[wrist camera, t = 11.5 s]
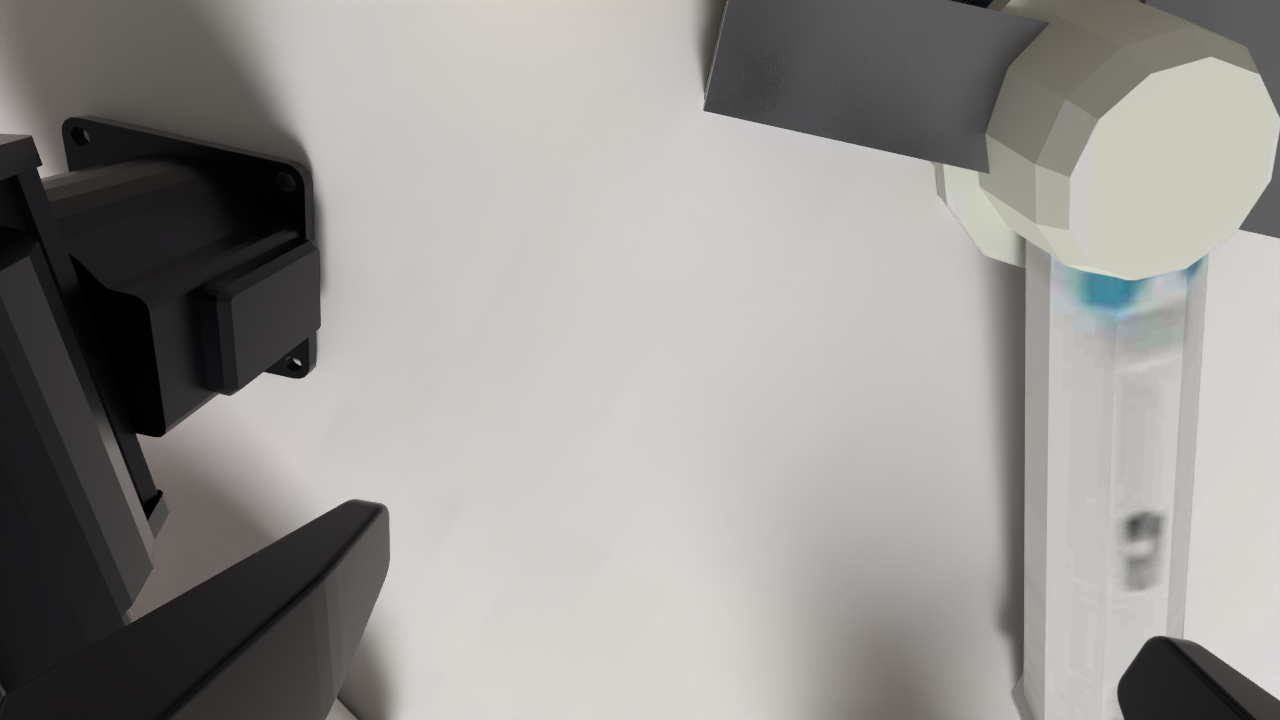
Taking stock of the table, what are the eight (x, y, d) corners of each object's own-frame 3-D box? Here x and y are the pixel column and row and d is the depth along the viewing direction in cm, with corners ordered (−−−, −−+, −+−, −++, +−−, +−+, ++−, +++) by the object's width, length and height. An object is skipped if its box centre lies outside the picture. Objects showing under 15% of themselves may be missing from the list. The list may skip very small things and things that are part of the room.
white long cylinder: (1038, 847, 22) (1018, 39, 9) (966, 657, 27) (893, -9, 15) (1222, 834, 21) (1493, -107, 8) (1109, 639, 26) (1162, -101, 14)
